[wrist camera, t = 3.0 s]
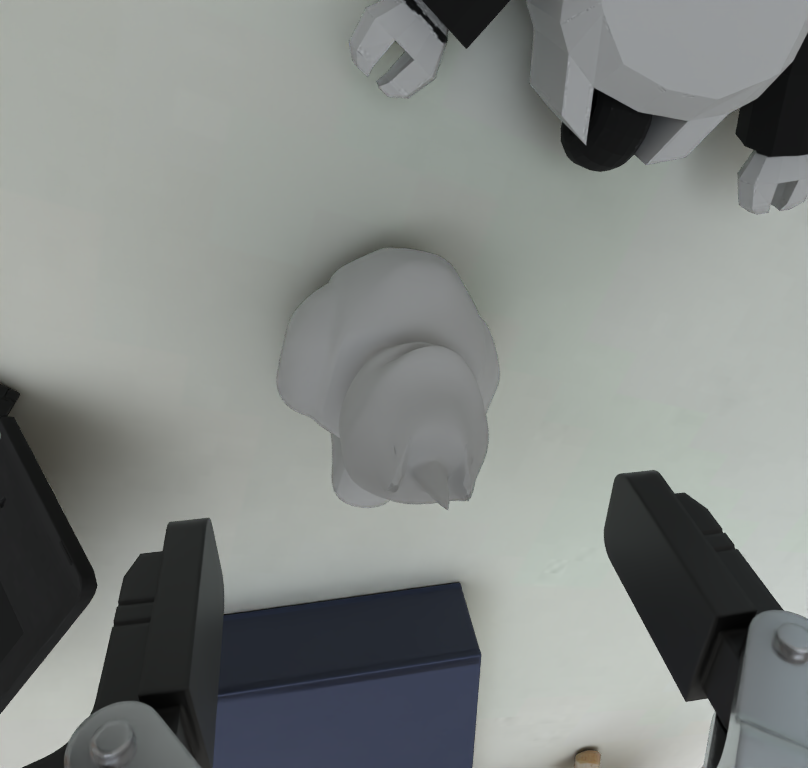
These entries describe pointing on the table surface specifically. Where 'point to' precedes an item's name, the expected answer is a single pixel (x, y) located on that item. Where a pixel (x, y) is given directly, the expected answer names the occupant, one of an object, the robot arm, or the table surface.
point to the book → (350, 683)
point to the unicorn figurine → (587, 759)
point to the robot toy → (636, 76)
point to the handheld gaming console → (33, 561)
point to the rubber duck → (394, 378)
